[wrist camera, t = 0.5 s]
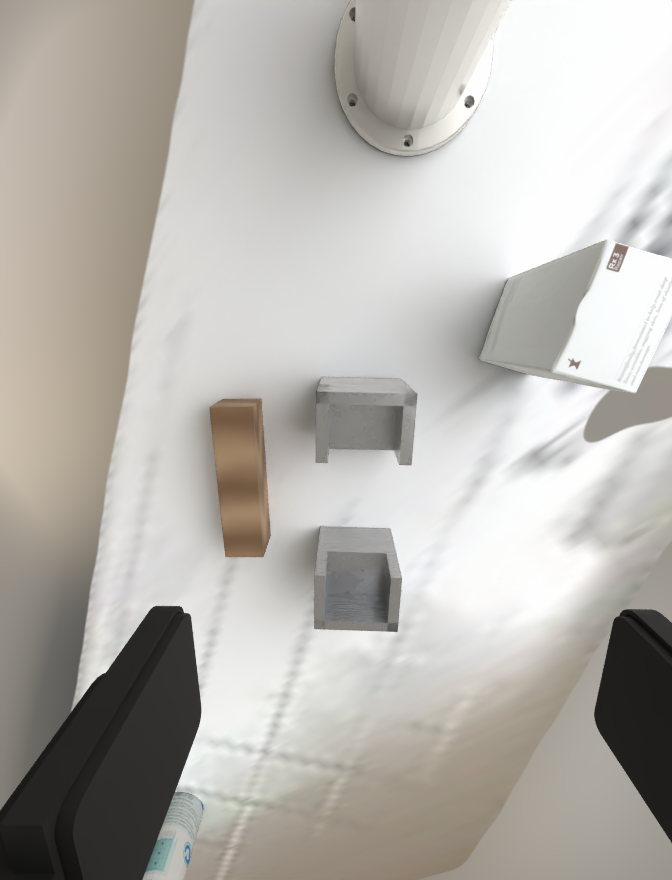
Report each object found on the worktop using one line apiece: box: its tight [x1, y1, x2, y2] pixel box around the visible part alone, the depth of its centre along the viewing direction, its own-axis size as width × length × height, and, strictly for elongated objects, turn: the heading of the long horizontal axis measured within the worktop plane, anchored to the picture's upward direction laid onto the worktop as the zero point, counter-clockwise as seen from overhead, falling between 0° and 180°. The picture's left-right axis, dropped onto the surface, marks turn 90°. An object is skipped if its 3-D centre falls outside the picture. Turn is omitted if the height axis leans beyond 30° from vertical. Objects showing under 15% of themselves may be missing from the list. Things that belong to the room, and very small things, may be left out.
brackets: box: [314, 377, 417, 632], centre depth 38 cm, size 23×8×9 cm, turn 179°
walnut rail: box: [210, 399, 271, 557], centre depth 41 cm, size 16×4×4 cm, turn 1°
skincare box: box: [479, 239, 672, 393], centre depth 31 cm, size 8×6×15 cm
